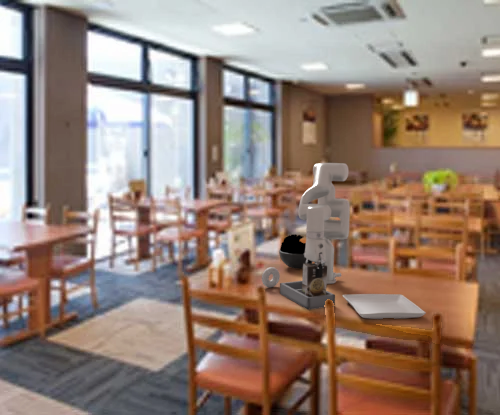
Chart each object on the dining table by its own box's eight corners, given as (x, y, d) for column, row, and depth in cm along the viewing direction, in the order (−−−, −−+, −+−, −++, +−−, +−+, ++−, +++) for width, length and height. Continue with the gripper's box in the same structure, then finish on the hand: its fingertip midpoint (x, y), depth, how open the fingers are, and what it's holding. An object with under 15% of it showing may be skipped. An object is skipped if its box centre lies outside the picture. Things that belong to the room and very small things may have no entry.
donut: (264, 289, 243) (264, 269, 242) (260, 288, 246) (260, 267, 245) (280, 286, 249) (281, 266, 247) (276, 285, 252) (277, 265, 250)
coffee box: (306, 303, 218) (308, 266, 216) (301, 299, 224) (302, 263, 222) (326, 302, 221) (327, 265, 219) (320, 297, 227) (321, 262, 225)
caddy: (279, 293, 237) (280, 283, 236) (304, 290, 242) (305, 280, 242) (307, 309, 214) (307, 298, 213) (334, 306, 219) (335, 294, 218)
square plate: (426, 321, 202) (427, 312, 201) (359, 322, 200) (359, 313, 199) (401, 301, 229) (401, 292, 228) (341, 302, 227) (341, 293, 226)
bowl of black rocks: (296, 262, 301) (297, 231, 299) (321, 269, 286) (322, 235, 284) (271, 267, 288) (272, 234, 286) (296, 274, 273) (297, 239, 271)
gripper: (333, 237, 212) (332, 279, 215) (312, 231, 228) (311, 269, 230) (318, 239, 209) (317, 281, 212) (297, 232, 225) (296, 271, 227)
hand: (314, 274), depth 221 cm, fingers open, 7 cm apart
